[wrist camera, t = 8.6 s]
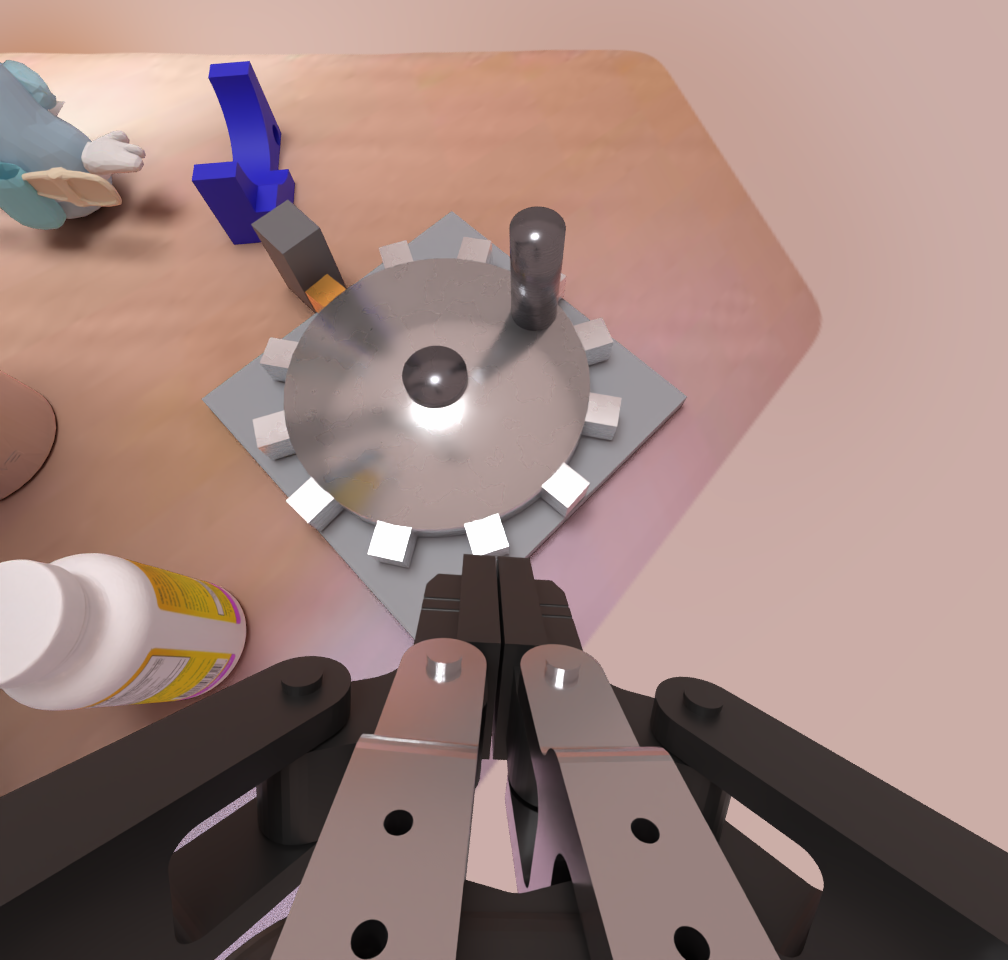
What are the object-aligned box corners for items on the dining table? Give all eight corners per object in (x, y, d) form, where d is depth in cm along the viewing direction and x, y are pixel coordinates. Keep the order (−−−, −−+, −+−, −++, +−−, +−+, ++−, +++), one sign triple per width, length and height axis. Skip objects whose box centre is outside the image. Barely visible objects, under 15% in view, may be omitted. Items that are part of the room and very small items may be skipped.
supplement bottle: (158, 580, 33) (-48, 526, 21) (262, 587, 33) (114, 536, 21) (124, 696, 31) (-128, 709, 19) (235, 705, 31) (51, 725, 19)
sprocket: (212, 526, 33) (106, 474, 24) (331, 237, 40) (281, 120, 32) (585, 605, 31) (611, 578, 22) (636, 283, 38) (669, 171, 30)
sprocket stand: (176, 368, 38) (117, 315, 33) (416, 193, 44) (401, 122, 38) (430, 654, 31) (411, 650, 26) (681, 405, 36) (711, 356, 31)
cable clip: (291, 241, 43) (256, 175, 37) (235, 246, 43) (191, 180, 37) (299, 134, 47) (269, 59, 41) (247, 138, 47) (210, 64, 41)
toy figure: (204, 163, 45) (64, -67, 31) (162, 261, 42) (-18, 51, 28) (22, 149, 47) (-193, -79, 33) (-35, 243, 43) (-304, 33, 29)
